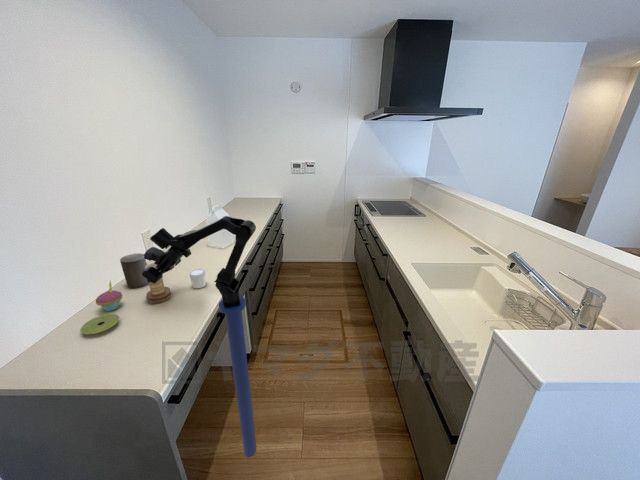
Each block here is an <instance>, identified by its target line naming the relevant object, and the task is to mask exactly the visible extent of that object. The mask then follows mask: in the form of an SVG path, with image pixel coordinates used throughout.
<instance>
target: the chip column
mask: <svg viewBox="0 0 640 480" xmlns="http://www.w3.org/2000/svg"><path fill="white" fill-rule="evenodd" d="M156 266H157V265H156V264H154V262H151V263H149V264H148V263H147V265H146V266H145V270H146V269H147V268H148V267H154V268H155V269H156V270H157V269H158V268H156ZM160 271H161V270H160ZM160 271H159V272H160ZM148 286H149V291H150V290H151V294H152V295H160V294H162V293H164V292H165V287H166V286H165V283H164V278H163V277H162V278H161V279H160V280H159V281H158V282H156V283H155V284H153V283H152V282H150V283H149V284H148Z"/></svg>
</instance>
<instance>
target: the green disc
mask: <svg viewBox="0 0 640 480" xmlns="http://www.w3.org/2000/svg"><path fill="white" fill-rule="evenodd" d="M119 321H120V316H119V315H118V314H116V313H107V314H103V315H99V316H96V317H93V318H91V319H89V320H88V321H86V322H85V323H84V324H82V326H81V327H80V332H81V333H82V334H84V335H94V334H95V335H96V334H98V333H102V332H105V331H107V330H109V329H111V328H112V327H115V325H116V324H117V323H119Z"/></svg>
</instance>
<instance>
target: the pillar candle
mask: <svg viewBox="0 0 640 480" xmlns="http://www.w3.org/2000/svg"><path fill="white" fill-rule="evenodd" d="M144 254H145V253H140V252H139V253H137V252H136V253H131V254H127V255H124V256H122V257H120V259H119V261H120V265H121V269H122V273H123V275H124V279H125V283H126V286H127V288H129V289H137V288H139V289H140V288H142V287H145V286H147V285H149V283H148V282H147V279H146V278H145V277H144V276H142V272H143V271H144V270H145V266H146V265H148V263H147V259H145V258H144Z"/></svg>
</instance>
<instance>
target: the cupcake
mask: <svg viewBox="0 0 640 480" xmlns="http://www.w3.org/2000/svg"><path fill="white" fill-rule="evenodd" d="M108 287H109V290H106V291H104V292H103V293H101V294H99V295H98V296H97V298H96V299H95V304H96V305H97V306H99V307H102V308H103V309H104V311H106V312H111V311H115V310H116V309H118V308H119V307H120V303H121V300H122V299H123V294H122V292H121V291H118V290H113V288H112V282H111V280H109V282H108Z"/></svg>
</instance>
